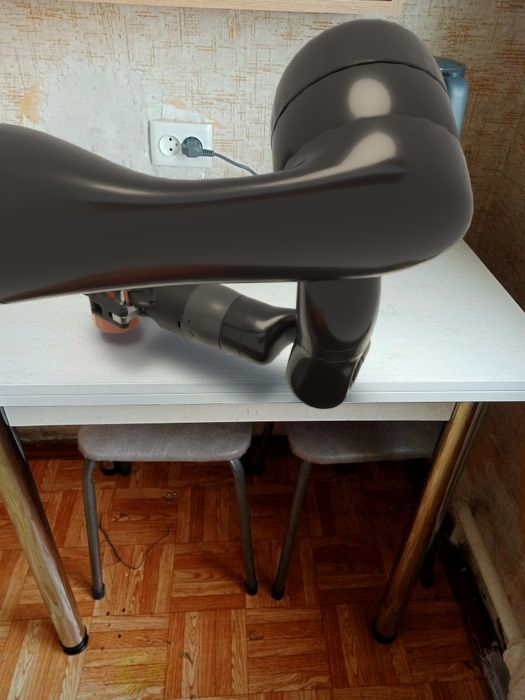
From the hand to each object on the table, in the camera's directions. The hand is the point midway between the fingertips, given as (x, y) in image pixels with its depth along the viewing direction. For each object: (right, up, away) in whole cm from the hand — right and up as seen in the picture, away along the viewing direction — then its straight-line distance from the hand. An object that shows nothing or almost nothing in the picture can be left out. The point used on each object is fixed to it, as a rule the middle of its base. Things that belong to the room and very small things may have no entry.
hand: (97, 270), depth 67 cm
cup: (+2, -6, +4) cm, 7 cm away
